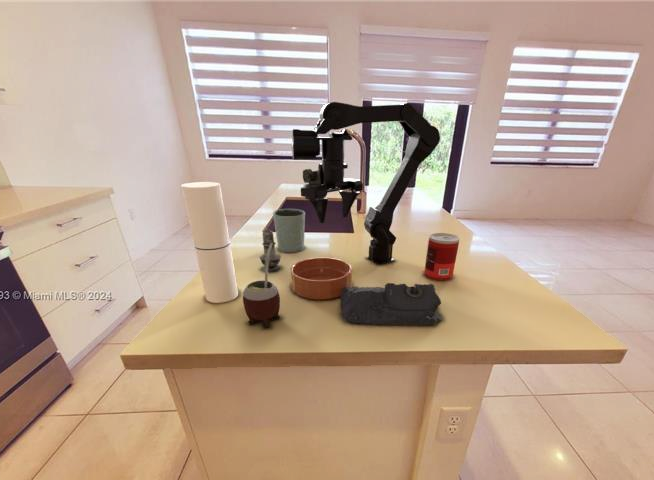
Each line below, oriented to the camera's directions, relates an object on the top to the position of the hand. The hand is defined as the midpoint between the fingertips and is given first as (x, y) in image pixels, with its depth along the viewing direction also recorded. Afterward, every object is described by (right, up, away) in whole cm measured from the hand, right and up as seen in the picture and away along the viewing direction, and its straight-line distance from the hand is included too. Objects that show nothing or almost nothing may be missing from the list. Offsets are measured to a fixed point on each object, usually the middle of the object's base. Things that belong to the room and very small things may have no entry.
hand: (333, 220), depth 88 cm
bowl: (-3, -19, -8) cm, 21 cm away
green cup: (-15, -6, +17) cm, 23 cm away
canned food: (+29, -16, 0) cm, 33 cm away
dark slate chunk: (+13, -24, -17) cm, 32 cm away
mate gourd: (-13, -26, -23) cm, 37 cm away
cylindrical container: (-26, -21, -14) cm, 36 cm away
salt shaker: (-18, -14, +1) cm, 23 cm away
